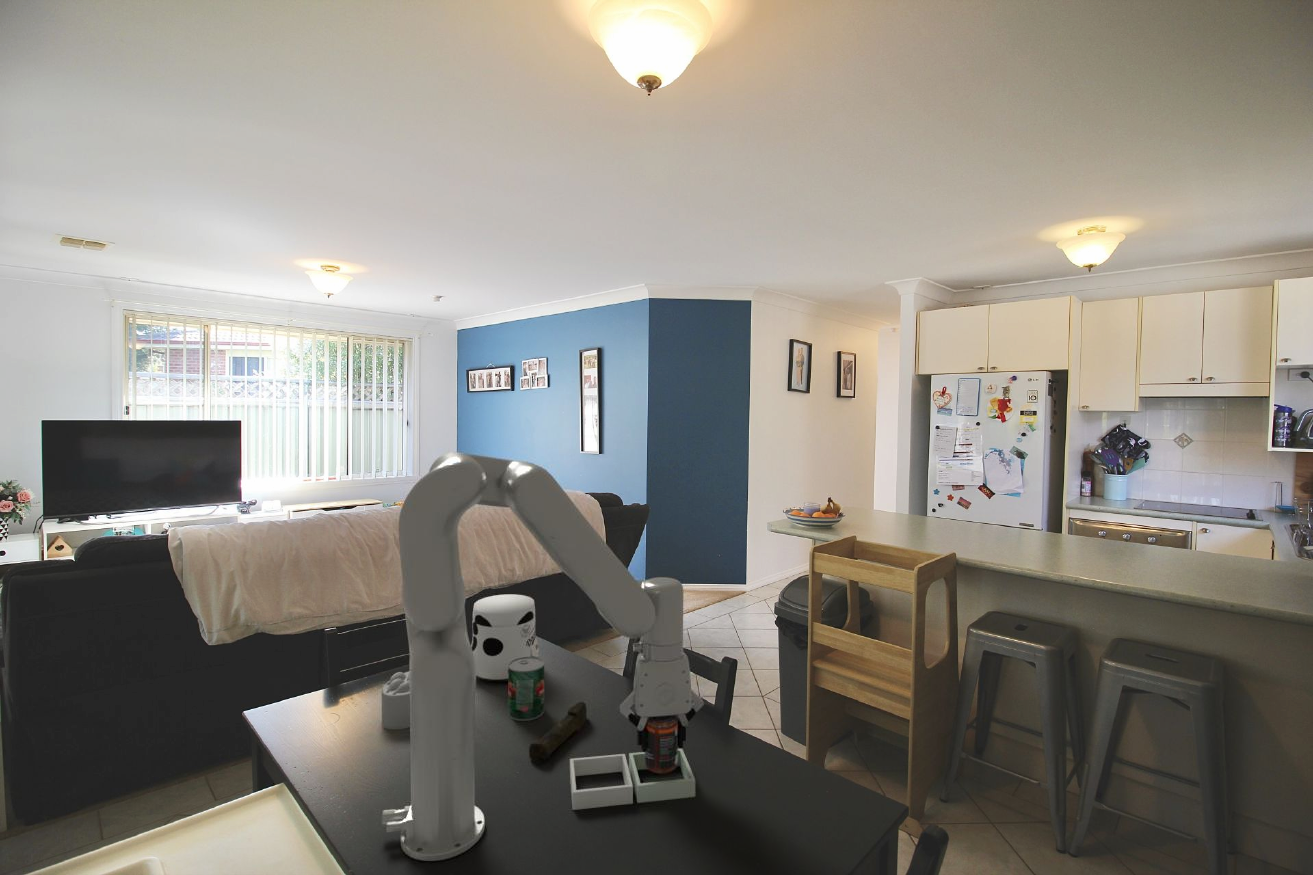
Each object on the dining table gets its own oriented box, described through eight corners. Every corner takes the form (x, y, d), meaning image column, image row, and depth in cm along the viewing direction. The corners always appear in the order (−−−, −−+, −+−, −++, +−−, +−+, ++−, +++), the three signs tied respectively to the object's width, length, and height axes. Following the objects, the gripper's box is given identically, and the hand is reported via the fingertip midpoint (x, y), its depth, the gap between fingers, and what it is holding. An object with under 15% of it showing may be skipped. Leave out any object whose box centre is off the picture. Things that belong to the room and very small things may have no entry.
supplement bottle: (684, 765, 112) (685, 704, 111) (662, 779, 108) (662, 716, 107) (660, 752, 116) (660, 693, 116) (637, 765, 112) (638, 704, 111)
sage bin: (637, 802, 106) (637, 785, 106) (629, 768, 116) (629, 753, 116) (695, 796, 108) (695, 779, 108) (681, 763, 118) (682, 748, 118)
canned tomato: (550, 714, 136) (550, 665, 136) (516, 724, 132) (516, 674, 131) (535, 700, 143) (535, 653, 142) (502, 709, 138) (502, 661, 138)
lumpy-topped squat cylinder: (449, 706, 140) (449, 668, 140) (406, 733, 128) (406, 692, 127) (413, 697, 144) (413, 661, 143) (368, 724, 132) (368, 684, 131)
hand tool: (545, 767, 117) (545, 743, 117) (528, 761, 118) (528, 738, 118) (596, 722, 134) (597, 701, 134) (581, 718, 136) (581, 697, 135)
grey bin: (572, 809, 104) (572, 792, 104) (569, 774, 114) (569, 758, 114) (632, 803, 106) (632, 786, 106) (624, 769, 116) (624, 753, 116)
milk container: (552, 672, 158) (552, 603, 157) (492, 694, 146) (492, 619, 145) (514, 653, 170) (514, 589, 169) (455, 672, 158) (455, 602, 157)
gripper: (616, 659, 106) (616, 762, 106) (714, 653, 109) (713, 753, 110) (611, 643, 113) (611, 739, 114) (703, 637, 116) (702, 731, 117)
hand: (661, 745), depth 112 cm, fingers closed on supplement bottle, 6 cm apart
